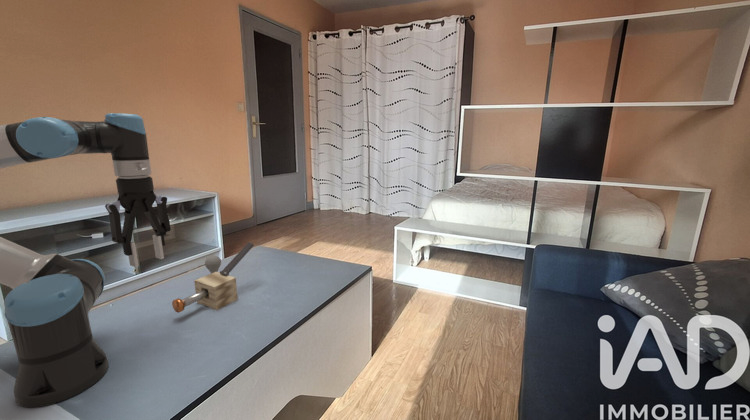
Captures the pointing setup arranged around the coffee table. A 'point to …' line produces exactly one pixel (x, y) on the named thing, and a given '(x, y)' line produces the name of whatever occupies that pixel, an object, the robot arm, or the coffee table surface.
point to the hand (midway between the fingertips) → (147, 261)
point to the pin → (188, 300)
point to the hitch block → (217, 290)
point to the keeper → (236, 259)
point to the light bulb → (213, 263)
